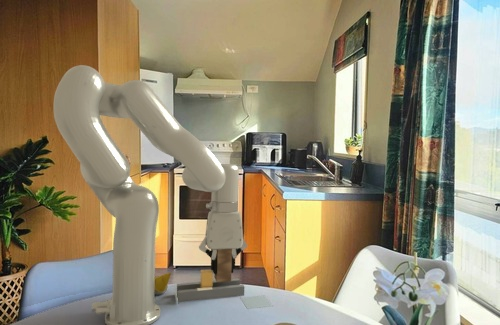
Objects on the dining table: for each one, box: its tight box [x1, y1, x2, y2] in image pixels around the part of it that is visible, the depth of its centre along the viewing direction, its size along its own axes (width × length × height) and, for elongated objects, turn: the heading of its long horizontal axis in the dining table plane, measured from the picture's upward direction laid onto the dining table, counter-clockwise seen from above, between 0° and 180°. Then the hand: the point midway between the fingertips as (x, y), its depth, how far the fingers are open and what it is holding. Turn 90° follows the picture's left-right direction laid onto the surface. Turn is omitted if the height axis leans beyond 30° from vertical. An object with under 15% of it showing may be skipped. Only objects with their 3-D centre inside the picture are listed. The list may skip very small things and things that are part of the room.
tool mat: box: [240, 294, 274, 310], centre depth 88 cm, size 7×7×1 cm
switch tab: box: [199, 268, 214, 288], centre depth 92 cm, size 3×3×5 cm
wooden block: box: [213, 249, 232, 282], centre depth 94 cm, size 4×4×10 cm
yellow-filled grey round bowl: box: [154, 272, 172, 296], centre depth 93 cm, size 5×5×10 cm
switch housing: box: [176, 277, 245, 305], centre depth 93 cm, size 18×6×3 cm, turn 107°
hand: (222, 271), depth 94 cm, fingers closed on wooden block, 4 cm apart
